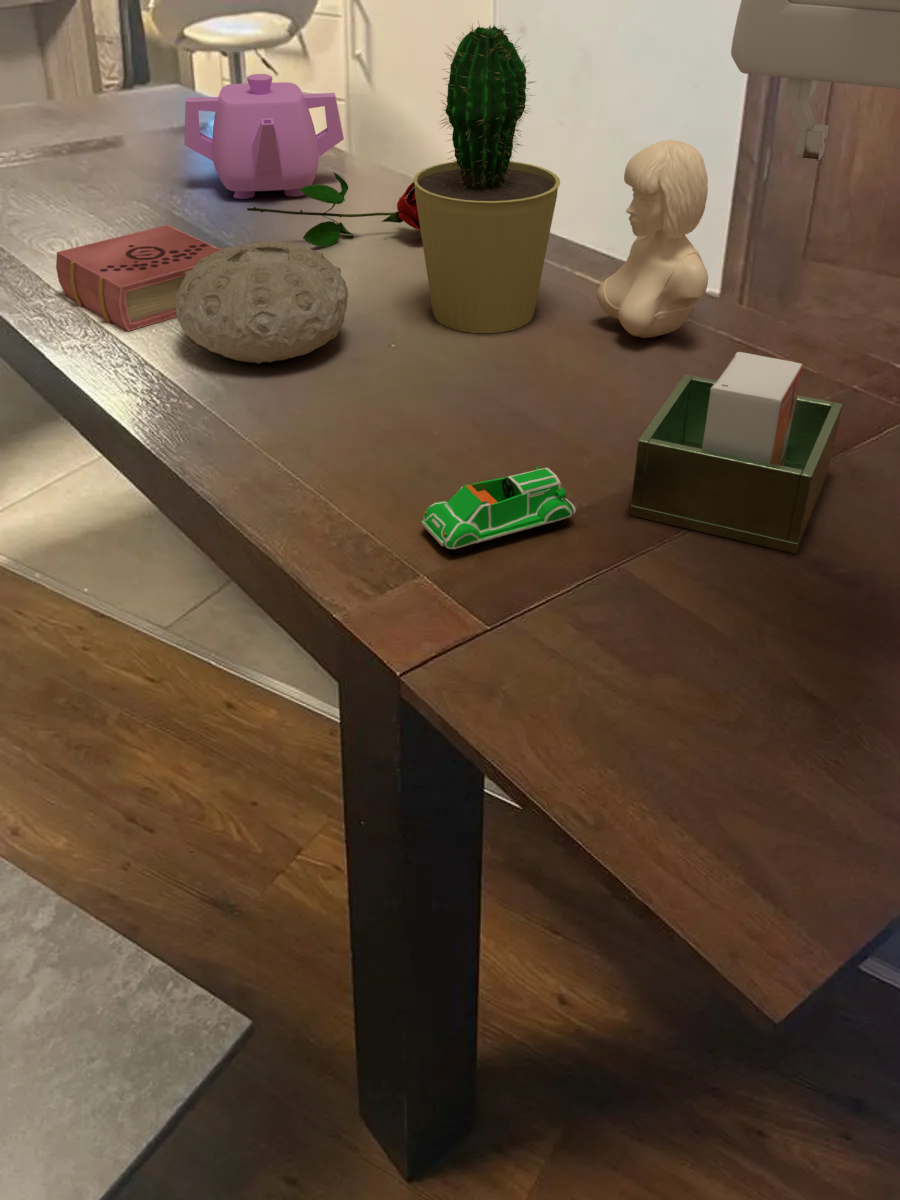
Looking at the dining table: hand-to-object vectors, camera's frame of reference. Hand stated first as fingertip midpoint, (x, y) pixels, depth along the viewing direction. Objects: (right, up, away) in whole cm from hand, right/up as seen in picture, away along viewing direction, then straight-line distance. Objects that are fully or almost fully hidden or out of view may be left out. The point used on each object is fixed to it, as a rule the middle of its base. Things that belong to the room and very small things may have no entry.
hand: (888, 167), depth 71 cm
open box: (-2, -17, +30) cm, 34 cm away
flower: (-37, +20, +81) cm, 92 cm away
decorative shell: (-46, +1, +55) cm, 72 cm away
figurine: (-5, +3, +58) cm, 58 cm away
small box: (-2, -17, +28) cm, 33 cm away
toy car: (-22, -20, +25) cm, 39 cm away
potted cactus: (-22, +6, +62) cm, 66 cm away
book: (-61, +9, +66) cm, 90 cm away
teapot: (-52, +34, +100) cm, 118 cm away
